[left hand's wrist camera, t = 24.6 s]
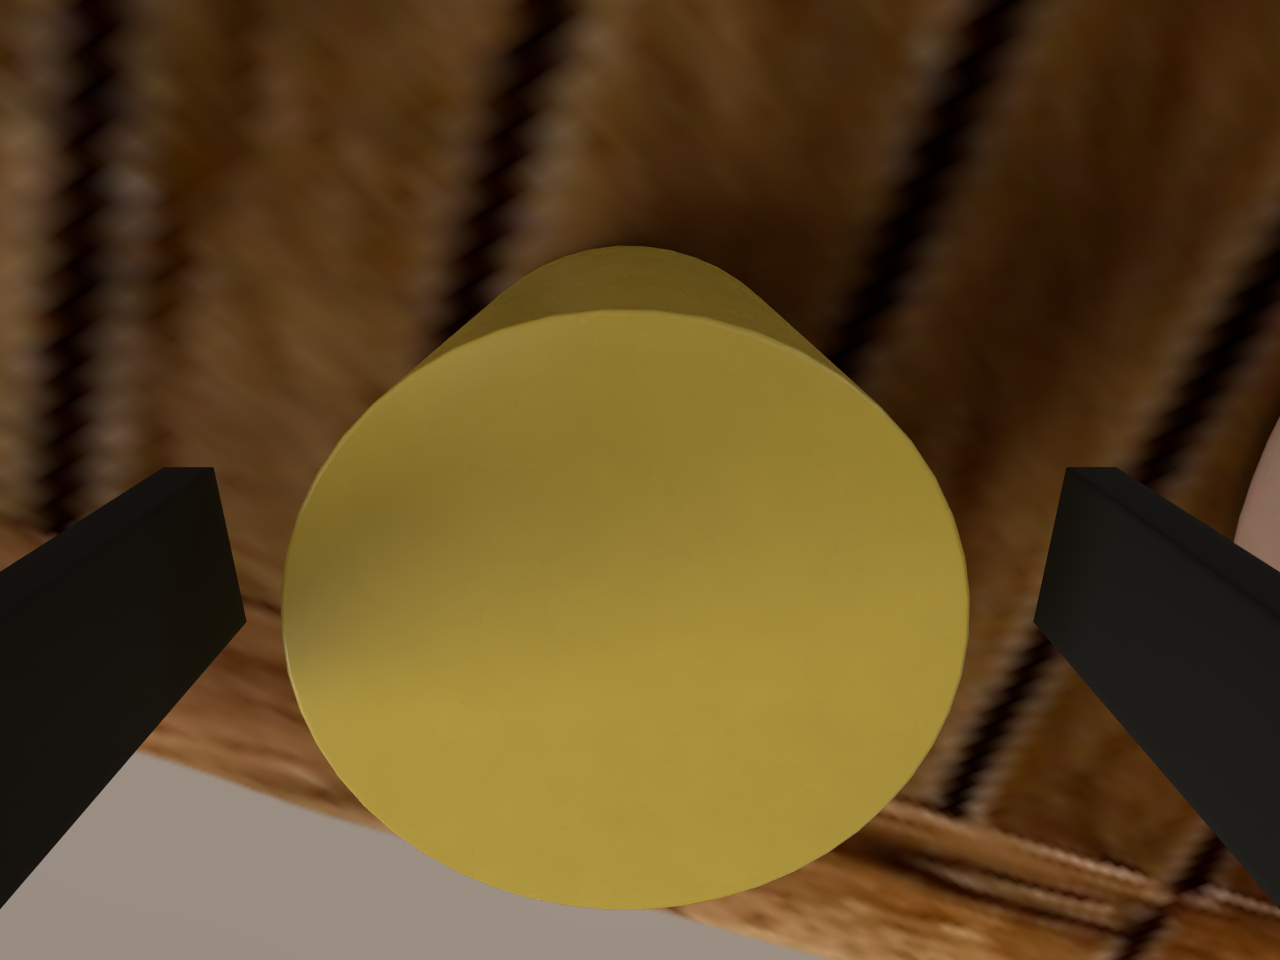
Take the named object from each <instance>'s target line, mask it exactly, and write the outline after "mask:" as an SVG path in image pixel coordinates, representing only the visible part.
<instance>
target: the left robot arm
mask: <svg viewBox="0 0 1280 960" xmlns="http://www.w3.org/2000/svg"><path fill="white" fill-rule="evenodd" d="M245 623H246V617H245V612H244V608H243V603H242V598H241V594H240V589H239V584H238V580H237V575H236V570H235V566H234V561H233V556H232V552H231V547H230V542H229V537H228V533H227V528H226V523H225V519H224V514H223V509H222V505H221V500H220V495H219V491H218V486H217V481H216V477H215V472H214V467H163V468H162V469H160V470H159V471H157V472H156V473H154V474H153V475H151V476H149V477H148V478H146V479H145V480H143V481H142V482H140V483H138V484H137V485H135V486H134V487H132V488H131V489H129V490H127V491H126V492H124V493H123V494H121V495H120V496H118V497H117V498H115V499H113V500H112V501H110V502H109V503H107V504H106V505H104V506H102V507H101V508H99V509H98V510H96V511H95V512H93V513H91V514H90V515H88V516H87V517H85V518H84V519H82V520H81V521H79V522H77V523H76V524H74V525H73V526H71V527H70V528H68V529H66V530H65V531H63V532H62V533H60V534H59V535H57V536H56V537H54V538H52V539H51V540H49V541H48V542H46V543H45V544H43V545H41V546H40V547H38V548H37V549H35V550H34V551H32V552H30V553H29V554H27V555H26V556H24V557H23V558H21V559H20V560H18V561H16V562H15V563H13V564H12V565H10V566H9V567H7V568H5V569H4V570H2V571H1V572H0V909H1V908H2V906H3V905H4V904H5V903H6V902H7V901H8V899H9V898H10V897H11V896H12V895H13V894H14V892H15V891H16V890H17V889H18V888H19V887H20V885H21V884H22V883H23V882H24V881H25V879H26V878H27V877H28V876H29V875H30V874H31V873H32V871H33V870H34V869H35V868H36V867H37V866H38V864H39V863H40V862H41V861H42V860H43V858H44V857H45V856H46V855H47V854H48V853H49V852H50V850H51V849H52V848H53V847H54V846H55V845H56V843H57V842H58V841H59V840H60V839H61V838H62V836H63V835H64V834H65V833H66V832H67V831H68V829H69V828H70V827H71V826H72V825H73V824H74V822H75V821H76V820H77V819H78V818H79V817H80V815H81V814H82V813H83V812H84V811H85V810H86V808H87V807H88V806H89V805H90V804H91V803H92V801H93V800H94V799H95V798H96V797H97V796H98V794H99V793H100V792H101V791H102V790H103V789H104V787H105V786H106V785H107V784H108V783H109V782H110V780H111V779H112V778H113V777H114V776H115V775H116V773H117V772H118V771H119V770H120V769H121V768H122V766H123V765H124V764H125V763H126V762H127V761H128V759H129V758H130V757H131V756H132V755H133V754H134V752H135V751H136V750H137V749H138V748H139V747H140V745H141V744H142V743H143V742H144V741H145V740H146V738H147V737H148V736H149V735H150V734H151V733H152V731H153V730H154V729H155V728H156V727H157V726H158V724H159V723H160V722H161V721H162V720H163V719H164V717H165V716H166V715H167V714H168V713H169V712H170V710H171V709H172V708H173V707H174V706H175V705H176V703H177V702H178V701H179V700H180V699H181V698H182V696H183V695H184V694H185V693H186V692H187V691H188V689H189V688H190V687H191V686H192V685H193V684H194V682H195V681H196V680H197V679H198V678H199V677H200V675H201V674H202V673H203V672H204V671H205V670H206V668H207V667H208V666H209V665H210V664H211V663H212V661H213V660H214V659H215V658H216V657H217V656H218V654H219V653H220V652H221V651H222V650H223V649H224V647H225V646H226V645H227V644H228V643H229V642H230V640H231V639H232V638H233V637H234V636H235V635H236V633H237V632H238V631H239V630H240V629H241V628H242V626H243V625H244V624H245ZM1034 623H1035V624H1036V625H1037V626H1038V628H1039V629H1040V630H1041V631H1042V632H1043V633H1044V635H1045V636H1046V637H1047V638H1048V639H1049V640H1050V642H1051V643H1052V644H1053V645H1054V646H1055V647H1056V649H1057V650H1058V651H1059V652H1060V653H1061V654H1062V656H1063V657H1064V658H1065V659H1066V660H1067V661H1068V663H1069V664H1070V665H1071V666H1072V667H1073V668H1074V670H1075V671H1076V672H1077V673H1078V674H1079V675H1080V677H1081V678H1082V679H1083V680H1084V681H1085V682H1086V684H1087V685H1088V686H1089V687H1090V688H1091V689H1092V691H1093V692H1094V693H1095V694H1096V695H1097V696H1098V698H1099V699H1100V700H1101V701H1102V702H1103V703H1104V705H1105V706H1106V707H1107V708H1108V709H1109V710H1110V712H1111V713H1112V714H1113V715H1114V716H1115V717H1116V719H1117V720H1118V721H1119V722H1120V723H1121V724H1122V726H1123V727H1124V728H1125V729H1126V730H1127V731H1128V733H1129V734H1130V735H1131V736H1132V737H1133V738H1134V740H1135V741H1136V742H1137V743H1138V744H1139V745H1140V747H1141V748H1142V749H1143V750H1144V751H1145V752H1146V754H1147V755H1148V756H1149V757H1150V758H1151V759H1152V761H1153V762H1154V763H1155V764H1156V765H1157V766H1158V768H1159V769H1160V770H1161V771H1162V772H1163V773H1164V775H1165V776H1166V777H1167V778H1168V779H1169V780H1170V782H1171V783H1172V784H1173V785H1174V786H1175V787H1176V789H1177V790H1178V791H1179V792H1180V793H1181V794H1182V796H1183V797H1184V798H1185V799H1186V800H1187V801H1188V803H1189V804H1190V805H1191V806H1192V807H1193V808H1194V810H1195V811H1196V812H1197V813H1198V814H1199V815H1200V817H1201V818H1202V819H1203V820H1204V821H1205V822H1206V824H1207V825H1208V826H1209V827H1210V828H1211V829H1212V831H1213V832H1214V833H1215V834H1216V835H1217V836H1218V838H1219V839H1220V840H1221V841H1222V842H1223V843H1224V845H1225V846H1226V847H1227V848H1228V849H1229V850H1230V852H1231V853H1232V854H1233V855H1234V856H1235V857H1236V859H1237V860H1238V861H1239V862H1240V863H1241V864H1242V866H1243V867H1244V868H1245V869H1246V870H1247V871H1248V873H1249V874H1250V875H1251V876H1252V877H1253V878H1254V880H1255V881H1256V882H1257V883H1258V884H1259V885H1260V887H1261V888H1262V889H1263V890H1264V891H1265V892H1266V894H1267V895H1268V896H1269V897H1270V898H1271V899H1272V901H1273V902H1274V903H1275V904H1276V905H1277V906H1278V908H1279V909H1280V572H1279V571H1278V570H1276V569H1275V568H1273V567H1271V566H1270V565H1268V564H1267V563H1265V562H1264V561H1262V560H1260V559H1259V558H1257V557H1256V556H1254V555H1253V554H1251V553H1250V552H1248V551H1246V550H1245V549H1243V548H1242V547H1240V546H1239V545H1237V544H1235V543H1234V542H1232V541H1231V540H1229V539H1228V538H1226V537H1224V536H1223V535H1221V534H1220V533H1218V532H1217V531H1215V530H1214V529H1212V528H1210V527H1209V526H1207V525H1206V524H1204V523H1203V522H1201V521H1199V520H1198V519H1196V518H1195V517H1193V516H1192V515H1190V514H1189V513H1187V512H1185V511H1184V510H1182V509H1181V508H1179V507H1178V506H1176V505H1174V504H1173V503H1171V502H1170V501H1168V500H1167V499H1165V498H1163V497H1162V496H1160V495H1159V494H1157V493H1156V492H1154V491H1153V490H1151V489H1149V488H1148V487H1146V486H1145V485H1143V484H1142V483H1140V482H1138V481H1137V480H1135V479H1134V478H1132V477H1131V476H1129V475H1127V474H1126V473H1124V472H1123V471H1121V470H1120V469H1118V468H1117V467H1066V472H1065V477H1064V481H1063V486H1062V491H1061V495H1060V500H1059V505H1058V509H1057V514H1056V519H1055V523H1054V528H1053V533H1052V537H1051V542H1050V547H1049V552H1048V556H1047V561H1046V566H1045V570H1044V575H1043V580H1042V584H1041V589H1040V594H1039V598H1038V603H1037V608H1036V612H1035V617H1034Z"/></svg>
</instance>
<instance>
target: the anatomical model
mask: <svg viewBox="0 0 1280 960" xmlns="http://www.w3.org/2000/svg"><path fill="white" fill-rule="evenodd" d="M1234 543H1235V544H1237V545H1239V546H1240V547H1242V548H1243V549H1245V550H1246V551H1248V552H1250V553H1251V554H1253V555H1254V556H1256V557H1257V558H1259V559H1260V560H1262V561H1264V562H1265V563H1267V564H1268V565H1270V566H1271V567H1273V568H1275V569H1276V570H1278V571H1279V572H1280V416H1279V418H1278V420H1277V422H1276V424H1275V426H1274V429H1273V431H1272V433H1271V435H1270V437H1269V439H1268V441H1267V443H1266V446H1265V448H1264V451H1263V453H1262V456H1261V458H1260V461H1259V463H1258V466H1257V468H1256V471H1255V473H1254V476H1253V478H1252V481H1251V484H1250V487H1249V490H1248V493H1247V496H1246V499H1245V502H1244V505H1243V508H1242V511H1241V514H1240V517H1239V521H1238V525H1237V530H1236V534H1235V538H1234Z"/></svg>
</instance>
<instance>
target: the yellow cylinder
mask: <svg viewBox="0 0 1280 960" xmlns="http://www.w3.org/2000/svg"><path fill="white" fill-rule="evenodd" d="M969 608H970V593H969V585H968V577H967V569H966V561H965V555H964V551H963V548H962V544H961V541H960V537H959V534H958V530H957V527H956V523H955V520H954V516H953V514H952V512H951V510H950V507H949V505H948V503H947V501H946V499H945V497H944V494H943V492H942V490H941V488H940V486H939V484H938V481H937V479H936V477H935V476H934V474H933V473H932V471H931V470H930V468H929V467H928V465H927V464H926V462H925V461H924V459H923V458H922V456H921V455H920V453H919V452H918V450H917V449H916V447H915V445H914V444H913V442H912V441H911V440H910V439H909V438H908V436H907V435H906V434H905V433H904V432H903V431H902V430H901V429H900V428H899V426H898V425H897V424H896V423H895V422H894V421H893V420H892V419H891V418H890V416H889V415H888V414H887V413H886V412H885V411H884V410H883V409H882V408H881V406H879V405H878V404H877V403H876V402H875V401H874V400H873V399H872V398H871V397H869V396H868V395H867V394H866V393H865V392H864V391H863V390H862V389H861V388H859V387H858V386H857V385H856V384H855V383H854V382H853V381H852V380H851V379H850V378H848V377H847V376H846V375H845V374H844V373H843V372H842V371H841V370H840V369H838V368H837V367H836V366H835V365H834V364H833V363H832V362H831V361H830V360H829V359H827V358H826V357H825V356H824V355H823V354H822V353H821V352H820V351H819V350H817V349H816V348H815V347H814V346H813V345H812V344H811V343H810V342H809V341H807V340H806V339H805V338H804V337H803V336H802V335H801V334H800V333H799V332H798V331H796V330H795V329H794V328H793V327H792V326H791V325H790V324H789V323H788V322H786V321H785V320H784V319H783V318H782V317H781V316H780V315H779V314H778V313H777V312H775V311H774V310H773V309H772V308H771V307H770V306H769V305H768V304H767V303H765V302H764V301H763V300H762V299H761V298H760V297H759V296H757V295H756V294H755V293H754V292H753V291H751V290H750V289H749V288H748V287H747V286H745V285H744V284H743V283H742V282H741V281H739V280H737V279H736V278H734V277H733V276H731V275H729V274H728V273H726V272H724V271H723V270H721V269H720V268H718V267H716V266H713V265H711V264H709V263H707V262H704V261H702V260H700V259H698V258H695V257H692V256H689V255H685V254H682V253H678V252H675V251H671V250H666V249H659V248H653V247H646V246H612V247H605V248H597V249H590V250H586V251H582V252H579V253H575V254H571V255H568V256H564V257H562V258H560V259H557V260H555V261H553V262H550V263H548V264H546V265H543V266H541V267H539V268H538V269H536V270H534V271H533V272H531V273H529V274H528V275H526V276H524V277H523V278H521V279H519V280H518V281H517V282H515V283H514V284H513V285H512V286H510V287H509V288H508V289H507V290H506V291H504V292H503V293H502V294H501V295H499V296H498V297H497V298H496V299H495V300H493V301H492V302H491V303H490V304H489V305H488V306H486V307H485V308H484V309H483V310H482V311H481V312H479V313H478V314H477V315H476V316H475V317H474V318H472V319H471V320H470V321H469V322H468V323H466V324H465V325H464V326H463V327H462V328H461V329H459V330H458V331H457V332H456V333H455V334H454V335H452V336H451V337H450V338H449V339H448V340H447V341H445V342H444V343H443V344H442V345H441V346H440V347H438V348H437V349H436V350H435V351H434V352H433V353H431V354H430V355H429V356H428V357H427V358H425V359H424V360H423V361H422V362H421V363H420V364H418V365H417V366H416V367H415V368H414V369H413V370H411V371H410V372H409V373H408V374H407V375H406V376H404V377H403V378H402V379H401V380H400V381H399V382H397V383H396V384H395V385H394V386H393V387H392V388H390V389H389V390H388V391H387V392H386V393H384V394H383V395H382V396H381V397H380V398H379V399H377V400H376V401H375V402H374V403H373V404H372V405H371V406H370V407H369V408H368V409H367V410H366V411H365V413H364V414H363V415H362V416H361V417H360V418H359V419H358V420H357V421H356V422H355V423H354V424H353V425H352V427H351V428H350V429H349V430H348V431H347V432H346V433H345V434H344V435H343V436H342V437H341V439H340V440H339V442H338V443H337V445H336V446H335V448H334V449H333V451H332V452H331V454H330V455H329V456H328V458H327V459H326V461H325V462H324V464H323V465H322V467H321V468H320V470H319V471H318V473H317V474H316V476H315V478H314V480H313V483H312V485H311V487H310V489H309V491H308V493H307V495H306V497H305V499H304V501H303V504H302V506H301V508H300V510H299V512H298V515H297V518H296V522H295V525H294V528H293V532H292V535H291V538H290V542H289V545H288V548H287V552H286V558H285V565H284V573H283V580H282V587H281V633H282V641H283V647H284V652H285V658H286V664H287V670H288V675H289V678H290V681H291V684H292V687H293V690H294V693H295V696H296V699H297V702H298V705H299V708H300V711H301V713H302V715H303V717H304V719H305V721H306V723H307V725H308V727H309V729H310V731H311V733H312V735H313V737H314V739H315V741H316V744H317V745H318V747H319V748H320V750H321V751H322V753H323V754H324V756H325V757H326V759H327V760H328V762H329V763H330V765H331V766H332V768H333V769H334V771H335V772H336V774H337V775H338V777H339V778H340V779H341V780H342V781H343V782H344V784H345V785H346V786H347V787H348V788H349V789H350V790H351V792H352V793H353V794H354V795H355V796H356V797H357V798H358V800H359V801H360V802H361V803H362V804H363V805H364V806H365V807H366V808H367V809H368V810H369V811H370V812H372V813H373V814H374V815H375V816H376V817H377V818H378V819H379V820H380V821H382V822H383V823H384V824H385V825H386V826H387V827H388V828H389V829H390V830H392V831H393V832H394V833H396V834H397V835H399V836H400V837H401V838H403V839H404V840H406V841H407V842H408V843H410V844H411V845H413V846H414V847H415V848H417V849H418V850H420V851H421V852H423V853H424V854H426V855H428V856H430V857H431V858H433V859H435V860H437V861H439V862H440V863H442V864H444V865H446V866H448V867H449V868H451V869H453V870H455V871H457V872H459V873H461V874H464V875H466V876H468V877H471V878H473V879H475V880H478V881H480V882H483V883H485V884H487V885H490V886H492V887H495V888H498V889H502V890H505V891H508V892H511V893H515V894H518V895H521V896H525V897H528V898H532V899H537V900H542V901H547V902H552V903H558V904H562V905H567V906H577V907H587V908H597V909H653V908H664V907H674V906H684V905H689V904H694V903H699V902H704V901H709V900H714V899H719V898H723V897H726V896H729V895H733V894H736V893H739V892H743V891H746V890H749V889H752V888H756V887H759V886H761V885H763V884H766V883H768V882H771V881H773V880H775V879H778V878H780V877H782V876H785V875H787V874H789V873H792V872H794V871H796V870H798V869H800V868H801V867H803V866H805V865H807V864H809V863H810V862H812V861H814V860H816V859H818V858H819V857H821V856H823V855H825V854H827V853H828V852H830V851H831V850H832V849H834V848H835V847H837V846H838V845H839V844H841V843H842V842H844V841H845V840H846V839H848V838H849V837H851V836H852V835H854V834H855V833H856V832H858V831H859V830H860V829H861V828H862V827H863V826H865V825H866V824H867V823H868V822H869V821H870V820H871V819H872V818H874V817H875V816H876V815H877V814H878V813H879V812H880V811H881V810H882V809H884V808H885V807H886V806H887V805H888V804H889V802H890V801H891V800H892V799H893V798H894V797H895V796H896V795H897V793H898V792H899V791H900V790H901V789H902V788H903V787H904V785H905V784H906V783H907V782H908V781H909V780H910V779H911V777H912V776H913V774H914V773H915V772H916V770H917V769H918V767H919V766H920V764H921V763H922V761H923V760H924V758H925V757H926V755H927V754H928V752H929V751H930V749H931V748H932V746H933V744H934V742H935V740H936V738H937V736H938V734H939V732H940V730H941V728H942V726H943V724H944V722H945V720H946V718H947V716H948V714H949V712H950V709H951V706H952V703H953V700H954V697H955V694H956V691H957V688H958V685H959V682H960V679H961V676H962V672H963V666H964V661H965V655H966V649H967V644H968V638H969Z"/></svg>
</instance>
